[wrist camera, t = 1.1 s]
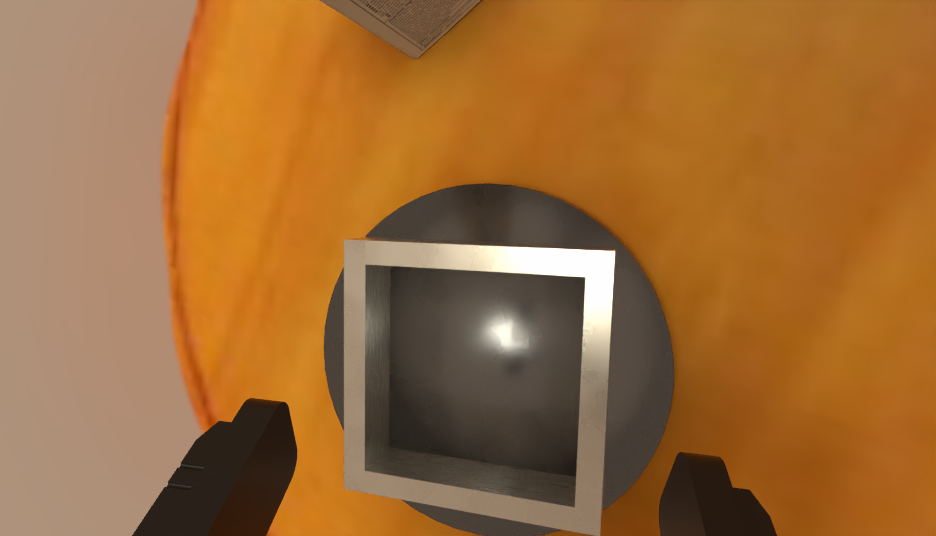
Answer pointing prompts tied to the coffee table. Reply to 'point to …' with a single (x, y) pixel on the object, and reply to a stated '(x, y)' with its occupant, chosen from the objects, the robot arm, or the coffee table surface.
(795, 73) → the coffee table surface
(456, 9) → the skincare box
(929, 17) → the coffee table surface
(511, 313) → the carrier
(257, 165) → the coffee table surface
